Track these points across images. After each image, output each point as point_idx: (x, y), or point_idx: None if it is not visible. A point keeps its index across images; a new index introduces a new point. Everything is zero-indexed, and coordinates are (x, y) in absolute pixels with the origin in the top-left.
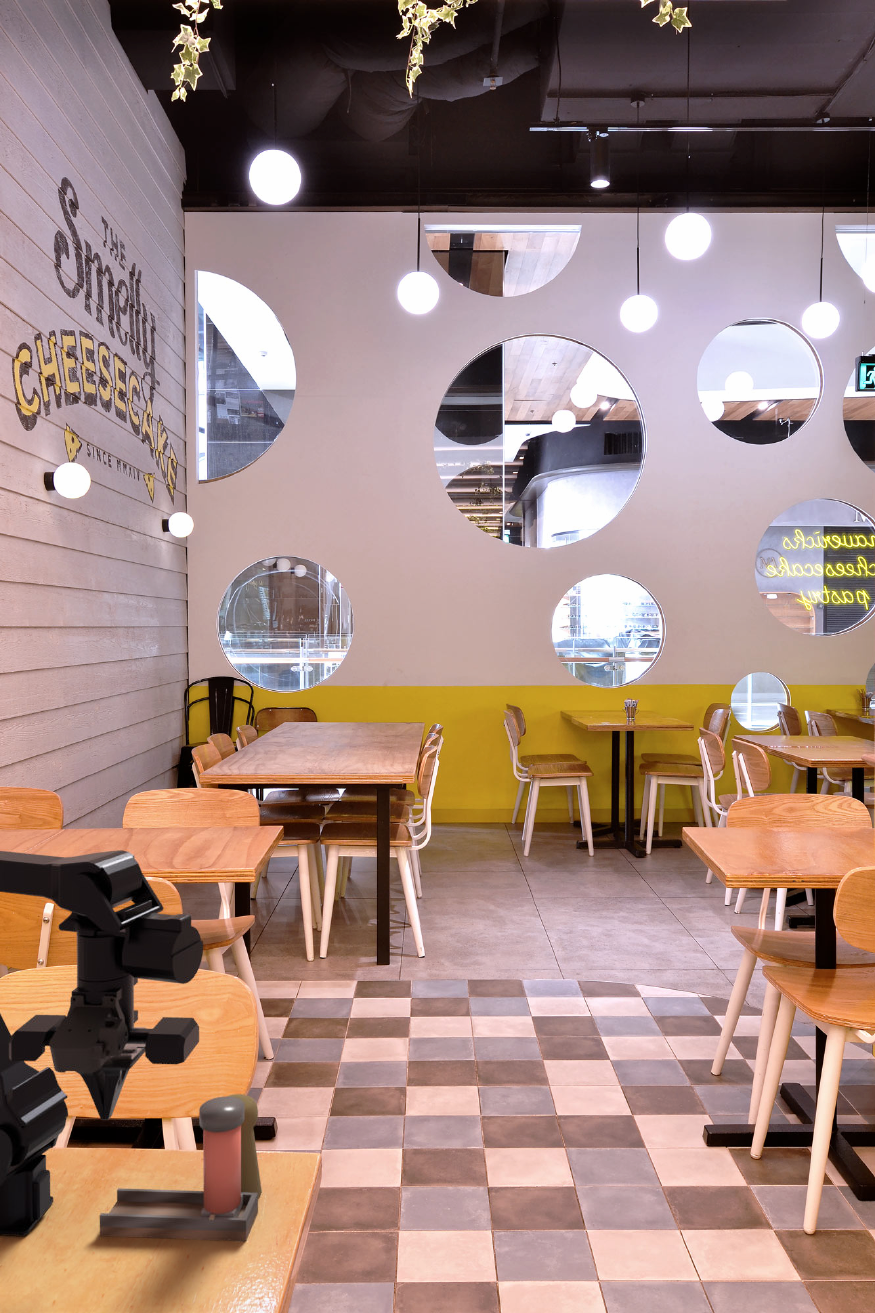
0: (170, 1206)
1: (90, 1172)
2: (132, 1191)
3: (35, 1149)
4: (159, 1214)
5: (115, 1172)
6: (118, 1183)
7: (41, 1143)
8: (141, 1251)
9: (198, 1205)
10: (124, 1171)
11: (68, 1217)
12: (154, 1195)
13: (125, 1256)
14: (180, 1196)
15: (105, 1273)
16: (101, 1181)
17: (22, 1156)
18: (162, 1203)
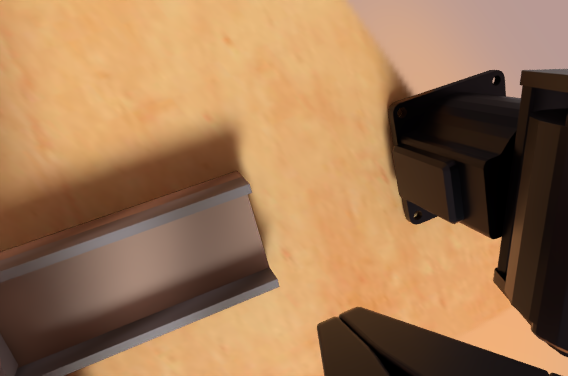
0: (126, 309)
1: None
2: (238, 293)
3: (527, 166)
4: (129, 273)
5: None
6: None
7: (527, 192)
8: (94, 163)
9: (56, 345)
10: None
11: (346, 195)
12: (181, 312)
13: (120, 133)
14: (110, 340)
15: (120, 60)
16: None
17: (544, 116)
18: (156, 309)
